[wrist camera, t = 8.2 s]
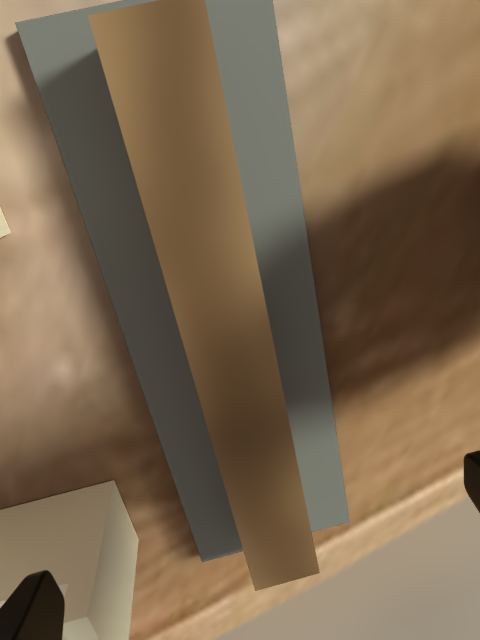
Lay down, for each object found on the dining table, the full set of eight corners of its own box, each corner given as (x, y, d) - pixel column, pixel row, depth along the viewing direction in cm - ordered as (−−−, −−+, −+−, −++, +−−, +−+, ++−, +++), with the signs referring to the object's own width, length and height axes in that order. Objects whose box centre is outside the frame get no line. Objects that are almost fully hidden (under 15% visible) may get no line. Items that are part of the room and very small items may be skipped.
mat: (264, -23, 14) (267, -31, 13) (345, 513, 23) (349, 521, 23) (21, 28, 14) (14, 22, 13) (201, 552, 23) (202, 562, 22)
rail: (197, 23, 14) (202, -10, 11) (301, 520, 22) (319, 572, 19) (105, 43, 14) (87, 14, 11) (245, 535, 22) (255, 590, 19)
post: (113, 480, 20) (87, 616, 14) (138, 539, 22) (123, 686, 16) (-21, 515, 20) (-106, 670, 14) (14, 573, 22) (-50, 734, 16)
